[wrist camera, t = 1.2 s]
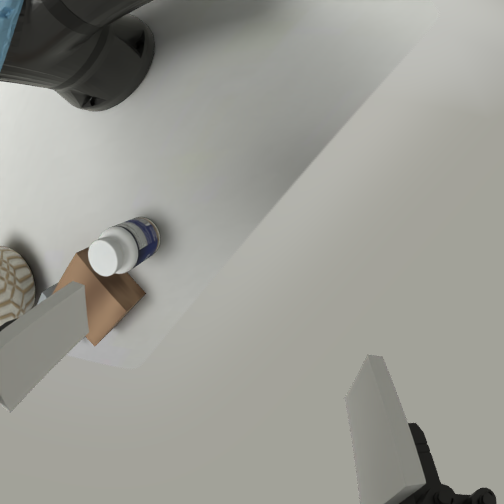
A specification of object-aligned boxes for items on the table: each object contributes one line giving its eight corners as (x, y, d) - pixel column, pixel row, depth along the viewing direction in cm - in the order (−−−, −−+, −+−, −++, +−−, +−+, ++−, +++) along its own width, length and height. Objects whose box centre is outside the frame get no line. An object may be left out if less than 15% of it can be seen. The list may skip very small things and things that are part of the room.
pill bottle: (139, 263, 37) (100, 290, 28) (119, 229, 36) (75, 248, 27) (168, 244, 36) (131, 270, 27) (148, 208, 35) (104, 223, 26)
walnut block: (74, 281, 40) (51, 295, 35) (101, 241, 38) (76, 253, 32) (114, 327, 41) (94, 346, 36) (146, 292, 39) (126, 311, 33)
